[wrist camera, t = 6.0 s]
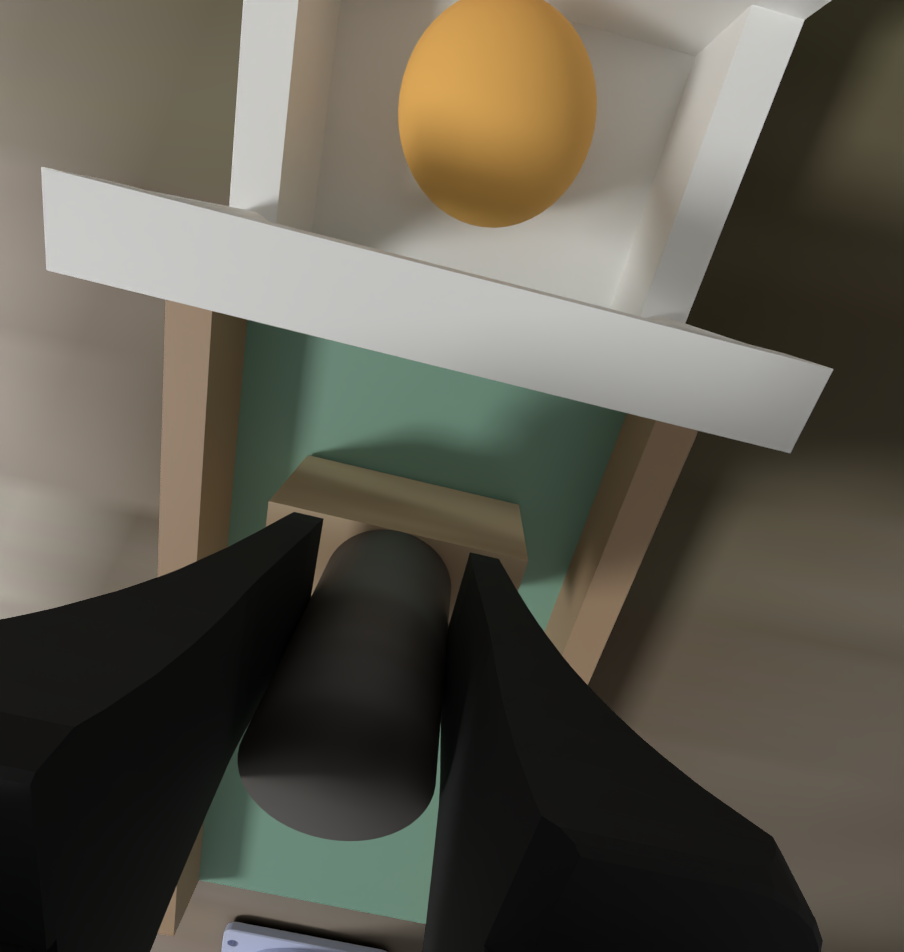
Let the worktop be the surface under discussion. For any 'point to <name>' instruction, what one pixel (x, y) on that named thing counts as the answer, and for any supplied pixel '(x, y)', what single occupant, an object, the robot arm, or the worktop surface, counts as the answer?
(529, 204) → the ball
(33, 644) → the robot arm
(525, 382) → the pitch
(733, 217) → the worktop surface
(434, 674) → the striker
